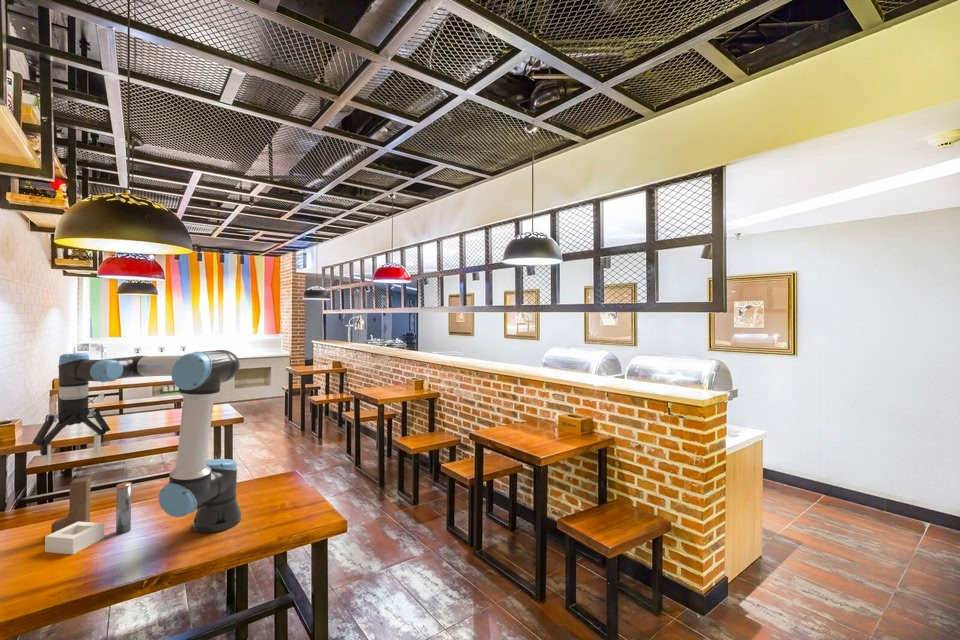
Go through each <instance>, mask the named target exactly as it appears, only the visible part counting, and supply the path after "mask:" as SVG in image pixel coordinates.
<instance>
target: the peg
mask: <svg viewBox="0 0 960 640" xmlns="http://www.w3.org/2000/svg"><path fill="white" fill-rule="evenodd" d="M132 485H133V484H132V482H131V481H125V482H121V483H118V484H116V497H115V499H116V502H115V506H116V507H115V509H116V510H115V511H116V513H115V514H116V515H115V534H116V535H123V534H126V533H129V532H130V531H131V529H132V528H131V527H132Z"/></svg>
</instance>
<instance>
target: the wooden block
mask: <svg viewBox="0 0 960 640" xmlns="http://www.w3.org/2000/svg"><path fill="white" fill-rule="evenodd" d="M91 482H92V479H91V476H87V477H79V478H74V479H73V480H72V481H70V483H69V505H68V506H69V509H68V510H69V511H68V514H67V515H66V516H64V517H60V518H57V519H56V520H54V522H52V524H51V528H50V529H51V530H50V531H51V532H50V534H52V533H54V532H56V531H58V530H61V529H63V528H65V527H67V526H69V525H72V524H74V523H76V522H91V489H92V487H91V486H92V485H91Z"/></svg>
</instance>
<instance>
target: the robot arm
mask: <svg viewBox="0 0 960 640" xmlns="http://www.w3.org/2000/svg"><path fill="white" fill-rule="evenodd" d="M89 357H90V356H89V354H88V353H85V352H84V353H83V352H82V353H81V352H78V353H77V352H74V353H71V352H70V353H62V354H61V355H60V356H59V358H58V360H59V361H58V366H57V367H58V398H59V400H58V413H57V414H46V416H45V421H44V423H43V424H42V426H41V428H40V429H39V431H38V432H37V434H36V436H35V437H34V438H33V441H32V442H31V443H32V445H34V446H40V447H39V453H40V455H41V456H43V465H46V466H50V465H52V445H51V444H50V443H51V442H52V441H53V439H54V438H55V437H57V435H58V434H59V433H60V432H61V431H62V430H63V429H64V428H66V427H67V426H72V425H73V426H74V425H80V424H84V425H86V426H87V427H89V429H91V430H92V431H94V432H95V433H96V434H93V453H95V454H101V452H102V450H101V449H102V445H101V444H103V443H104V437H105V435H106V433H107V432H110V431H111V427H110V426H109V425H108V424H107V422H106V420H105V419H104V418H103V416H102V415H101V412H100V408H99V407H92V408H91V409H89V382H101V383H105V382H106V383H107V382H115V381H117V380H118V379H119V380H120V379H124V378H133V377H135V378H136V377H171V380H172V382H174V383H173V384H174V385H175V386H176V387H177V388H178V393H179V394H180V395H181V396H182V407H181V418H180V427H179V437H178V443H177V444H178V446H177V455H176V456H177V457H176V463H175V465H176V466H175V468H174V469H172V470H171V471H170V472H169V480H168V484H166V485H164V486H163V487H162V488H160V490H159V493H158V497H157V498H158V504H159V506H160V508H161V510H163V511H164V513H166V514H167V515H168V516H170V517H172V518H173V517H174V518H183V517H185V516H187V515H189V514H192V513H194V512H195V511H196V513H195V516H194V519H193V522H192V529H193V531H194V532H196V533H199V534H211V533H217V532H218V533H219V532H221V531H224V530H227V529H231V528H232V527H234V526H236V525H238V524H239V523H240V522H241V520H242V511H241V509H240V505H239V502H238V501H237V488H238V487H237V483H238V482H237V481H238V478H237V475H238V467H237V466H238V465H237V462H236V461H235V460H234V459H229V458H216V459H209V460H208V458H209V455H208V454H209V445H210V438H211V428H212V427H211V426H212V418H213V408H214V399H215V396H217V395H218V394H219V393H220V391H221V383H225V382H229V381H230V380H232V379H233V378H235V377H236V376H237V374H238V372H239V371H240V366H241V365H240V360H239V358H238V357H237V355H236V354H235V353H233V352H232V351H229V350H226V349H216V350H207V351H206V350H205V351H194V352H189V353H186V354H184V355H148V356H147V355H135V356H126V357H113V358H104V359H103V358H102V359H90V358H89ZM89 414H90V415H92V416H93V418H94V420H95V421H96V422H97V424H98V425H99V426H100V427H99V426H98V425H97V424H95V423H94V422H93V421H91V419H89V418H88V416H90V415H89ZM57 419H58V420H59V421H58V422H57V423H55V425H54V427H53V428H52V425H53V424H54V422H55V421H57ZM51 428H52V429H51ZM50 429H51V430H50ZM49 431H50V432H49Z"/></svg>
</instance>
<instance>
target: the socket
mask: <svg viewBox="0 0 960 640" xmlns="http://www.w3.org/2000/svg"><path fill="white" fill-rule="evenodd" d="M103 538H104V539H105V523H104V522H103V523H101V522H91V521H90V522H76V523H74V524H72V525H69V526H67V527H65V528H63V529H61V530H58V531H56V532H54V533H52V534H51V533H50V534H48V535H45V537H44V541H45V542H44V553H51V554H61V555H75V554H77V553H78V552H81V551H82V550H84V549H86V548H88V547H90V546H92V545H94V544H96V543H97V542H99V541H101V539H102V540H104V539H103Z"/></svg>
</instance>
